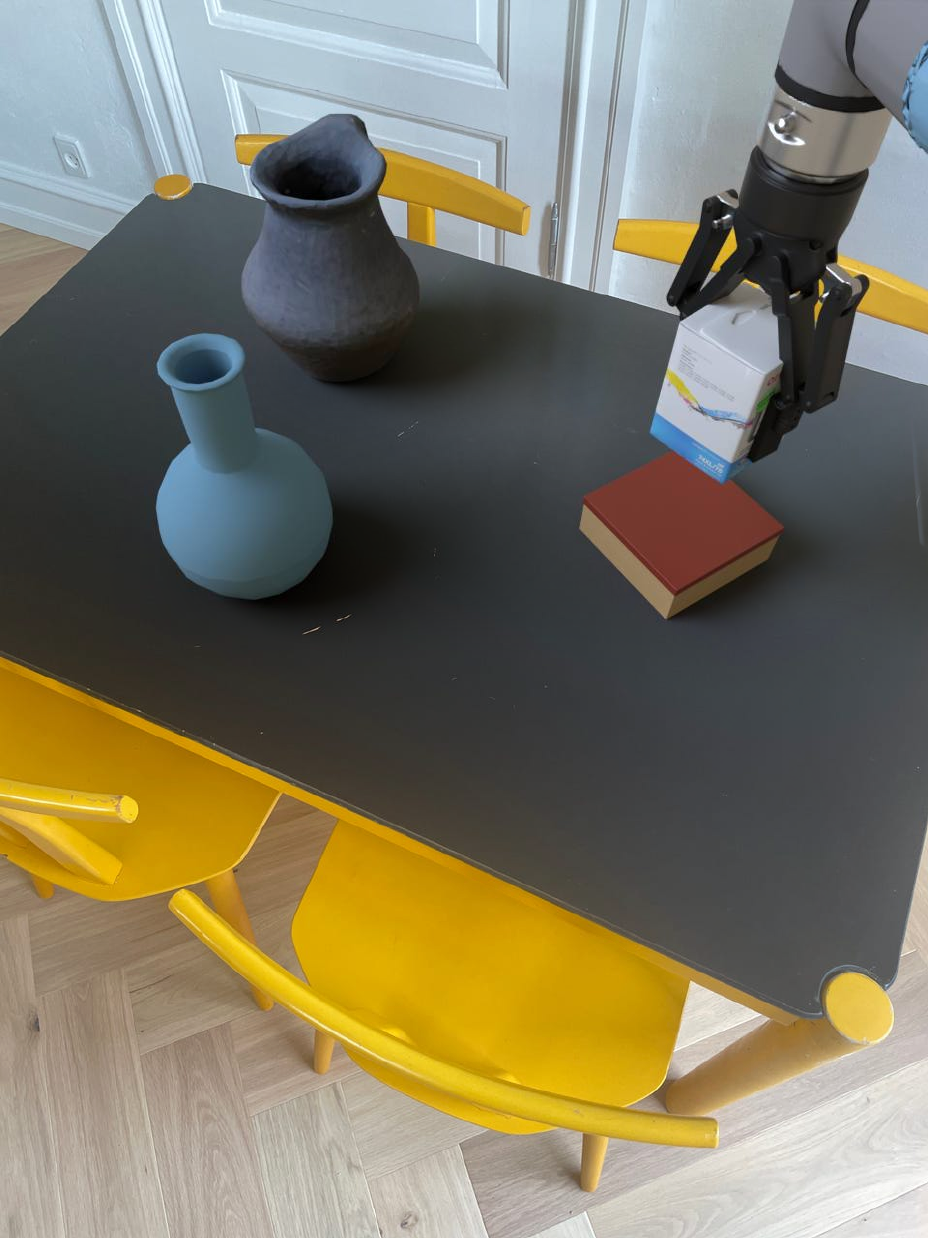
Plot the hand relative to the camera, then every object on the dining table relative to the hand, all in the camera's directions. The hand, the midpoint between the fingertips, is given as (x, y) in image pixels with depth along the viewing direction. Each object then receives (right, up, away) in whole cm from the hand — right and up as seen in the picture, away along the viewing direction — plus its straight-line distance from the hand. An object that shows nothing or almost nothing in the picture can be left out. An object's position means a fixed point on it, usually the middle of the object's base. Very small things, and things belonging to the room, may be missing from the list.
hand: (721, 419), depth 73 cm
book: (0, -9, +17) cm, 19 cm away
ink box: (0, -1, +2) cm, 2 cm away
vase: (-43, -11, +15) cm, 47 cm away
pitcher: (-37, +16, +34) cm, 53 cm away
